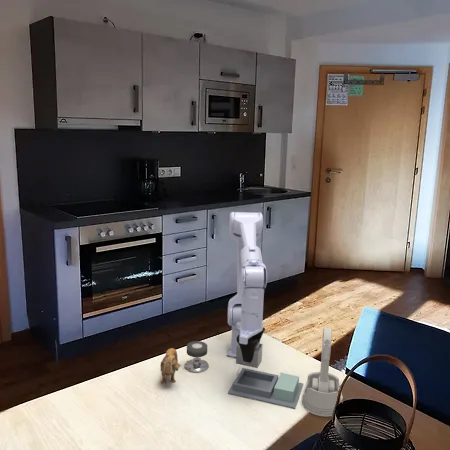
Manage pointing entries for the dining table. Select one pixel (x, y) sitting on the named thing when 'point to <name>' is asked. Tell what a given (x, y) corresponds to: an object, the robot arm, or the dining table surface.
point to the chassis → (267, 387)
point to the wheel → (196, 349)
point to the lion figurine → (169, 365)
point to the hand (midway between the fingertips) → (250, 357)
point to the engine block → (255, 360)
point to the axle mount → (196, 365)
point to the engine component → (322, 384)
